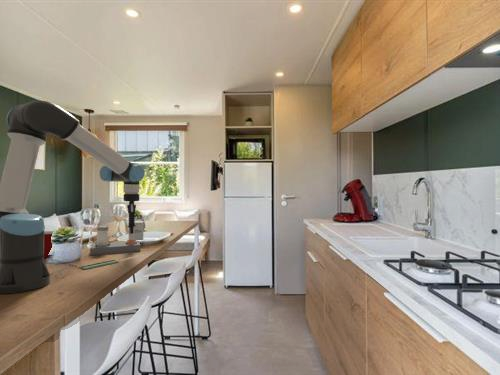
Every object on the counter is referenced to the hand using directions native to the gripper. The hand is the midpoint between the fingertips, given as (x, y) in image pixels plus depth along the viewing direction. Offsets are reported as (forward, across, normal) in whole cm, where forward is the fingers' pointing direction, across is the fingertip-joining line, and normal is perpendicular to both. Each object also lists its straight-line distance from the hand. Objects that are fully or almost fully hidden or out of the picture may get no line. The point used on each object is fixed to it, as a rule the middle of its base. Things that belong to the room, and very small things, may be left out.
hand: (131, 239), depth 150 cm
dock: (+6, 0, +7) cm, 9 cm away
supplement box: (+6, +20, -3) cm, 21 cm away
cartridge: (+5, 0, +13) cm, 14 cm away
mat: (+6, -19, +16) cm, 25 cm away
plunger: (+4, 0, 0) cm, 4 cm away
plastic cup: (+6, +1, +37) cm, 37 cm away
